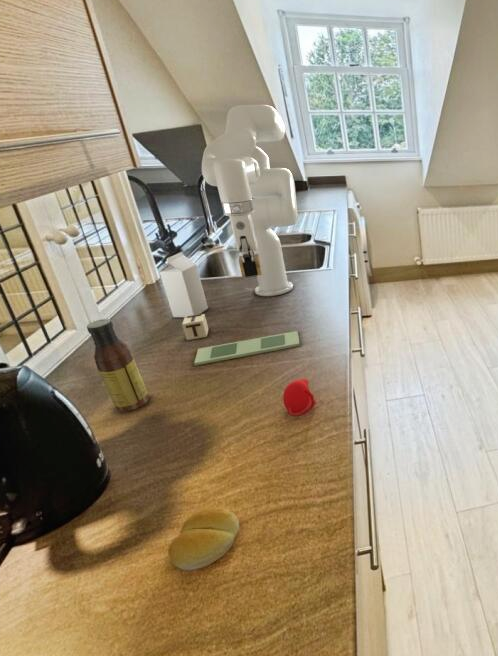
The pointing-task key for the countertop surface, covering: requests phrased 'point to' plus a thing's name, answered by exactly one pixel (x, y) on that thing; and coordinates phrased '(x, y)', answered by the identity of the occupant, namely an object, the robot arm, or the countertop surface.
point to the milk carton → (183, 286)
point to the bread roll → (204, 538)
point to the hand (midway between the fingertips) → (251, 272)
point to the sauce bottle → (117, 367)
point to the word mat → (246, 348)
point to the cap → (298, 398)
